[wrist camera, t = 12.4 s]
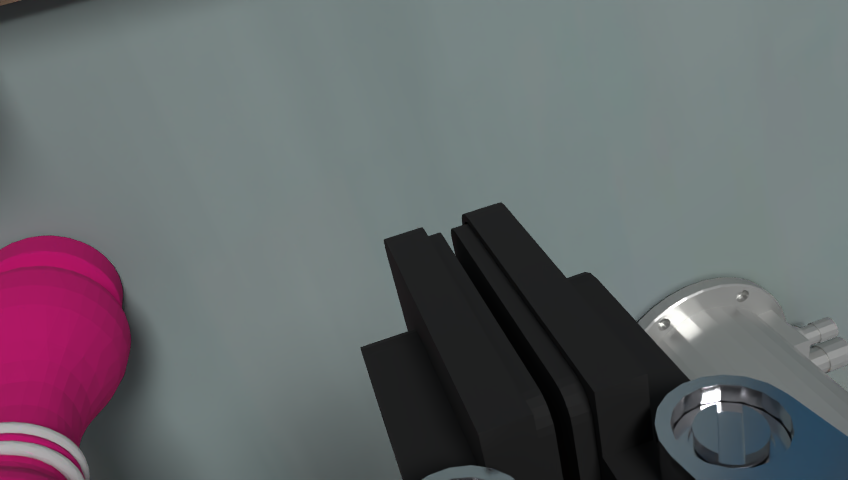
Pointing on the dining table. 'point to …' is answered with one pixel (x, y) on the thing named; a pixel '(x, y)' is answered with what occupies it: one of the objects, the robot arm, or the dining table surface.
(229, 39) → the dining table surface
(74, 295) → the pepper mill
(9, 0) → the stand
